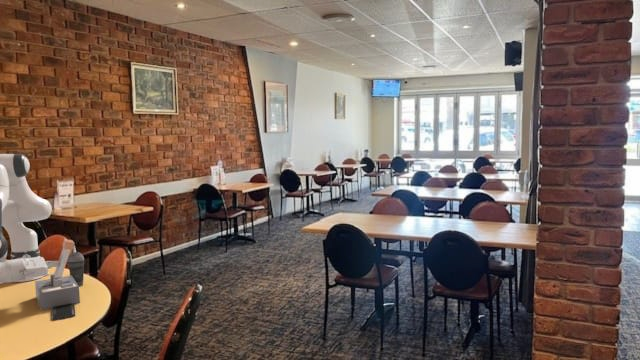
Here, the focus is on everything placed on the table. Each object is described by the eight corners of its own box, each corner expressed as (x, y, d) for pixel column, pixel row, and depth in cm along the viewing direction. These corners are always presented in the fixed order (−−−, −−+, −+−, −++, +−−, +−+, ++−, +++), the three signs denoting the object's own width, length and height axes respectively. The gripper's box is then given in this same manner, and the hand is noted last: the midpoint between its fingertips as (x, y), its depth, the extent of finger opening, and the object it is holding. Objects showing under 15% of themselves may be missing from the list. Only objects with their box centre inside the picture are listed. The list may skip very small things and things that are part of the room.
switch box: (36, 297, 202) (34, 274, 201) (72, 290, 210) (71, 268, 209) (40, 310, 186) (38, 286, 185) (80, 302, 194) (78, 279, 193)
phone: (74, 303, 192) (75, 314, 179) (74, 305, 192) (75, 317, 179) (51, 306, 188) (51, 318, 175) (52, 309, 188) (51, 321, 175)
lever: (50, 279, 200) (64, 238, 202) (58, 281, 201) (72, 240, 204) (52, 284, 193) (66, 241, 195) (60, 285, 195) (74, 243, 197)
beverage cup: (79, 288, 213) (75, 244, 212) (65, 287, 215) (61, 244, 213) (89, 283, 221) (86, 241, 219) (76, 282, 222) (73, 241, 220)
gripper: (20, 267, 181) (60, 260, 188) (17, 257, 197) (55, 251, 205) (21, 283, 181) (62, 276, 189) (19, 271, 198) (56, 265, 206)
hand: (58, 263), depth 197 cm, fingers closed, pressing on lever
